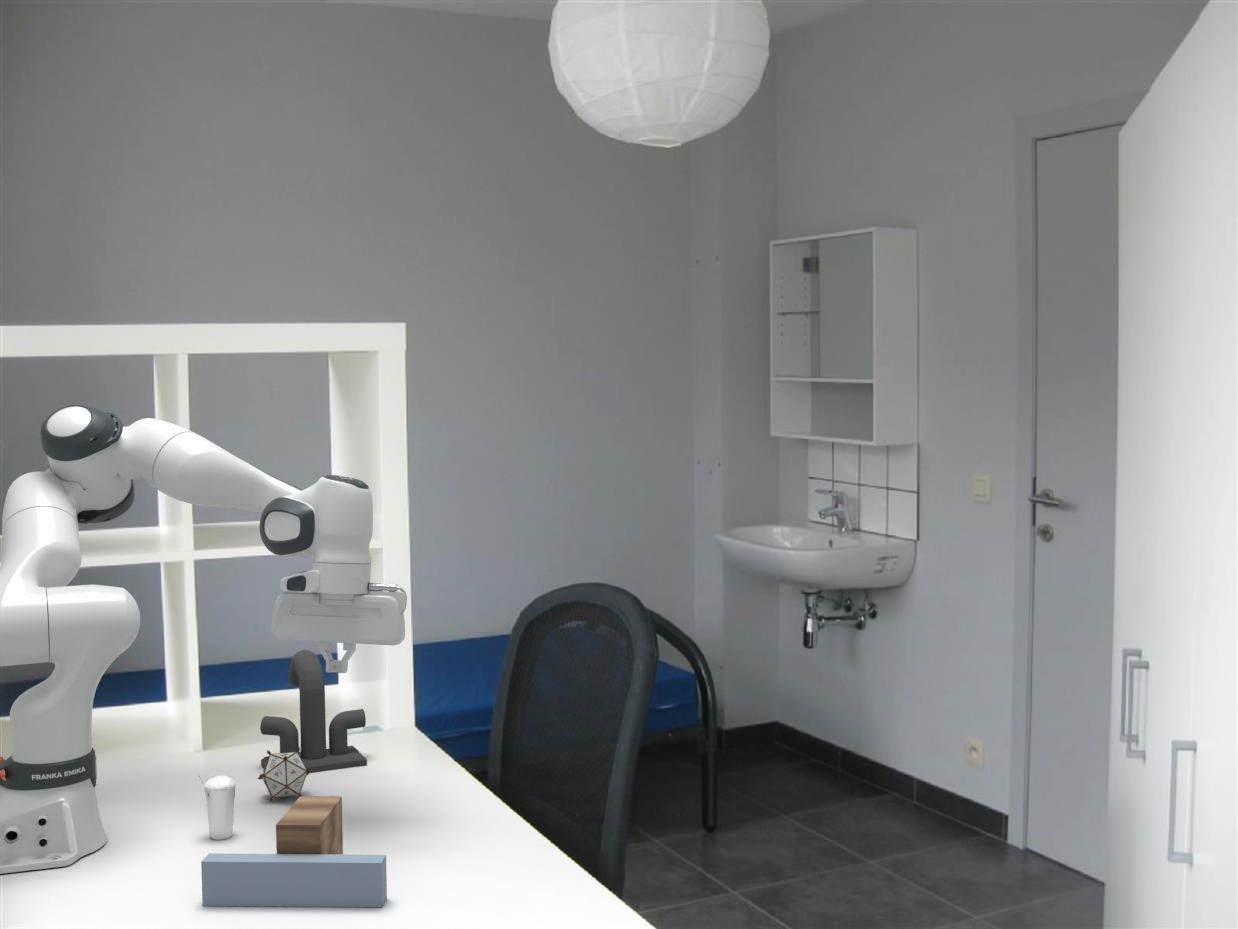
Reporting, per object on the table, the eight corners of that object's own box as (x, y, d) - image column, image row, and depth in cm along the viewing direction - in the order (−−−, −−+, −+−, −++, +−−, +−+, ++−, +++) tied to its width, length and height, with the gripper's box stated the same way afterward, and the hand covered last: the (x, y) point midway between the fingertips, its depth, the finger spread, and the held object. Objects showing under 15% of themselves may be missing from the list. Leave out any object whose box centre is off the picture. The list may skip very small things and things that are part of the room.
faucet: (348, 743, 255) (346, 639, 253) (370, 765, 241) (368, 655, 239) (251, 755, 247) (248, 648, 246) (267, 779, 233) (264, 665, 232)
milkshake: (199, 834, 206) (197, 770, 205) (235, 829, 207) (233, 766, 207) (201, 844, 201) (199, 778, 201) (238, 839, 203) (236, 774, 202)
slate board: (386, 898, 180) (386, 854, 180) (382, 907, 177) (381, 863, 177) (210, 897, 181) (208, 853, 181) (202, 905, 178) (201, 861, 178)
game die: (291, 823, 221) (293, 786, 215) (246, 802, 223) (247, 765, 216) (320, 783, 228) (322, 747, 222) (276, 763, 230) (277, 726, 223)
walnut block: (322, 897, 181) (320, 825, 180) (277, 897, 181) (275, 825, 180) (343, 864, 193) (341, 796, 192) (301, 864, 193) (300, 796, 192)
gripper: (412, 583, 208) (408, 673, 207) (284, 578, 210) (279, 667, 209) (402, 585, 202) (397, 678, 201) (269, 579, 204) (265, 671, 203)
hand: (336, 672), depth 205 cm, fingers closed
